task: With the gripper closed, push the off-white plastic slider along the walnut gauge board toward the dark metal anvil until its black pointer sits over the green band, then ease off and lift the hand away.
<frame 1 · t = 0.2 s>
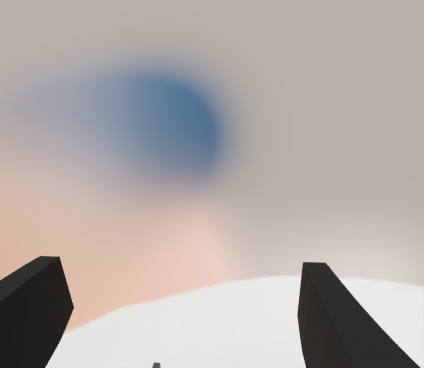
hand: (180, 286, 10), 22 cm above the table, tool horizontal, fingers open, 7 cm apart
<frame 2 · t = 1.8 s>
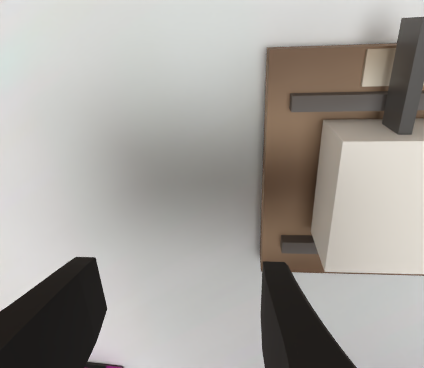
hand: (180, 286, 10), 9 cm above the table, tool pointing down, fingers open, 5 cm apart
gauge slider: (416, 152, 14), point 3 cm above the table, slide at 0.0 cm
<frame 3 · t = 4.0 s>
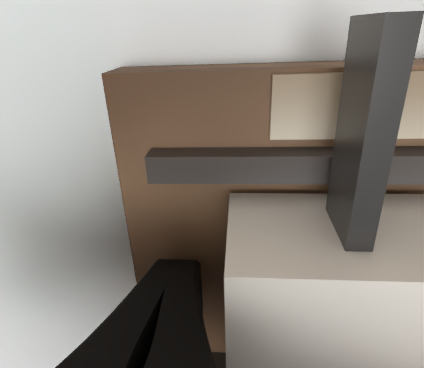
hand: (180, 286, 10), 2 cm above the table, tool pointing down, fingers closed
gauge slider: (387, 267, 7), point 3 cm above the table, slide at 0.5 cm, touching gripper
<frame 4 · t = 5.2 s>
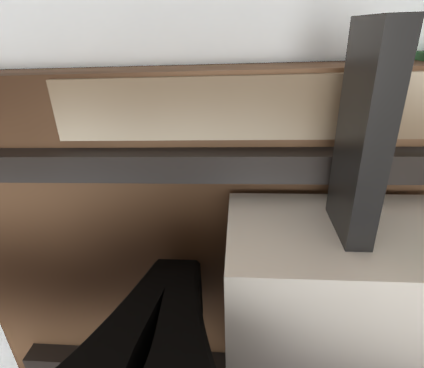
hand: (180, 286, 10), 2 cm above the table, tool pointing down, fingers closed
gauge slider: (386, 267, 7), point 3 cm above the table, slide at 5.8 cm, touching gripper
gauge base: (340, 249, 11), on the table
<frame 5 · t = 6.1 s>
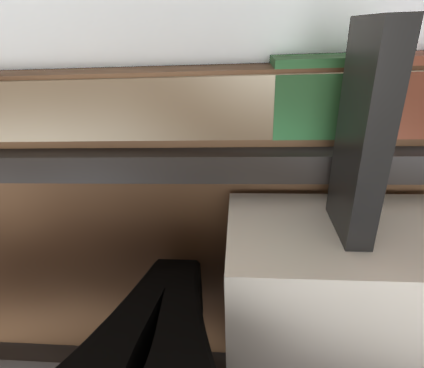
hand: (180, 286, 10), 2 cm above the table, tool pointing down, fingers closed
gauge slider: (387, 267, 7), point 3 cm above the table, slide at 9.5 cm, touching gripper
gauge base: (233, 246, 11), on the table
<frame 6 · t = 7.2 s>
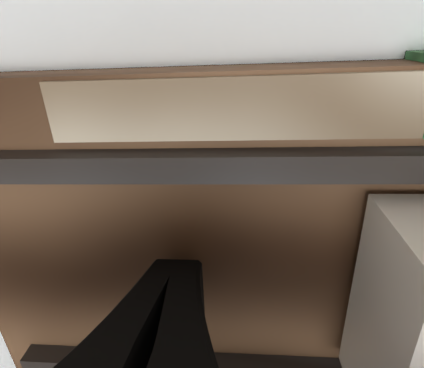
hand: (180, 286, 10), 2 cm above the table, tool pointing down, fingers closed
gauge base: (336, 248, 11), on the table
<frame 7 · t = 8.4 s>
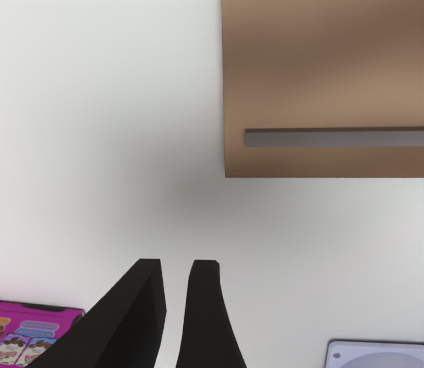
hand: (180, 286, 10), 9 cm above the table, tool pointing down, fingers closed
candy bar box: (20, 322, 25), on the table
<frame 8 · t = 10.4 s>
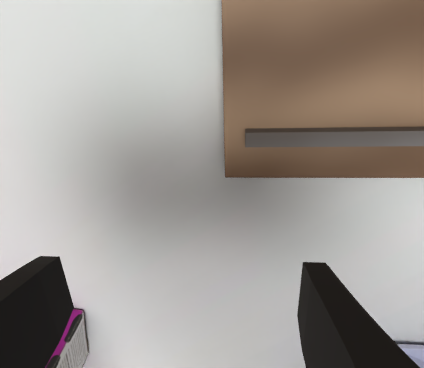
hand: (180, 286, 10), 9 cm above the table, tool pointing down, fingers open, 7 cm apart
candy bar box: (20, 322, 25), on the table
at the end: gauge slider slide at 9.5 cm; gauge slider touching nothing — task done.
